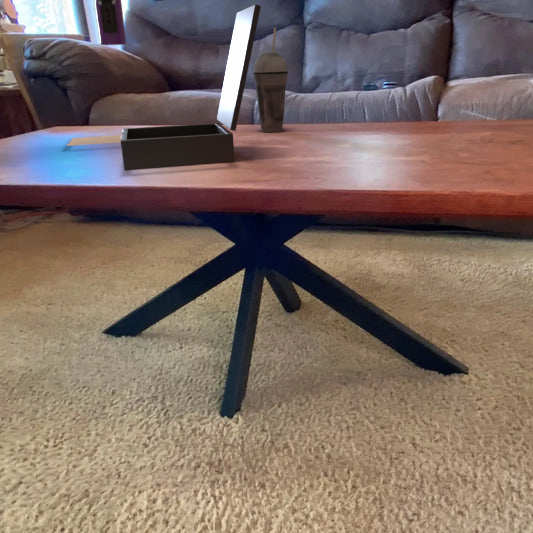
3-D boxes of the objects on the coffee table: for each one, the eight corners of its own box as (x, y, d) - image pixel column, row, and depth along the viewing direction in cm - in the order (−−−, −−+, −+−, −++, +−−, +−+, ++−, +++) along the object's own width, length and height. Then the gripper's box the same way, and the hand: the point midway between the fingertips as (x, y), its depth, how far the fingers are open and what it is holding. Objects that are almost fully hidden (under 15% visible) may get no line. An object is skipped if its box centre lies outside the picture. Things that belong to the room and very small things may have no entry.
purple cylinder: (99, 44, 81) (93, -2, 78) (101, 45, 84) (95, 1, 82) (125, 44, 81) (120, -2, 79) (126, 44, 85) (121, 0, 82)
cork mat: (64, 151, 92) (64, 148, 92) (73, 139, 105) (72, 137, 105) (143, 145, 95) (143, 143, 95) (142, 135, 108) (142, 133, 108)
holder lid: (255, 3, 67) (261, 5, 67) (236, 12, 79) (241, 13, 80) (230, 129, 72) (235, 131, 73) (216, 119, 85) (221, 120, 85)
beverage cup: (250, 130, 111) (246, 28, 103) (281, 127, 113) (279, 28, 105) (261, 134, 104) (258, 26, 97) (294, 131, 107) (293, 26, 99)
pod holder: (125, 175, 71) (120, 140, 70) (126, 158, 84) (122, 128, 82) (234, 167, 75) (233, 133, 73) (220, 151, 87) (219, 122, 85)
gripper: (75, -83, 81) (91, 35, 88) (61, -109, 68) (82, 31, 75) (123, -82, 83) (136, 34, 89) (119, -107, 70) (134, 30, 76)
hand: (111, 32), depth 82 cm, fingers closed on purple cylinder, 4 cm apart
